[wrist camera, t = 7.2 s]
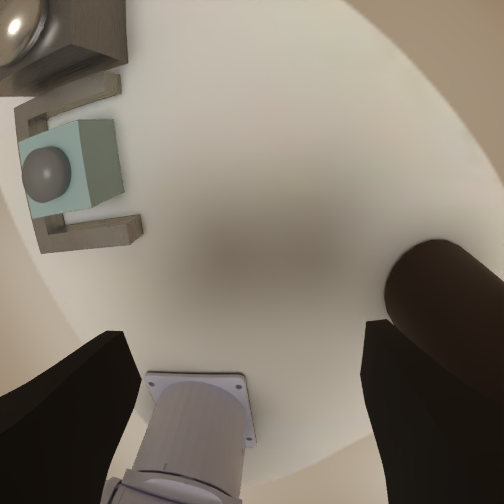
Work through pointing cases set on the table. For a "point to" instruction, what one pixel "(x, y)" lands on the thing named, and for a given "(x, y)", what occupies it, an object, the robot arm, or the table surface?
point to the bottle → (452, 313)
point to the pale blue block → (71, 167)
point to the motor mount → (64, 89)
